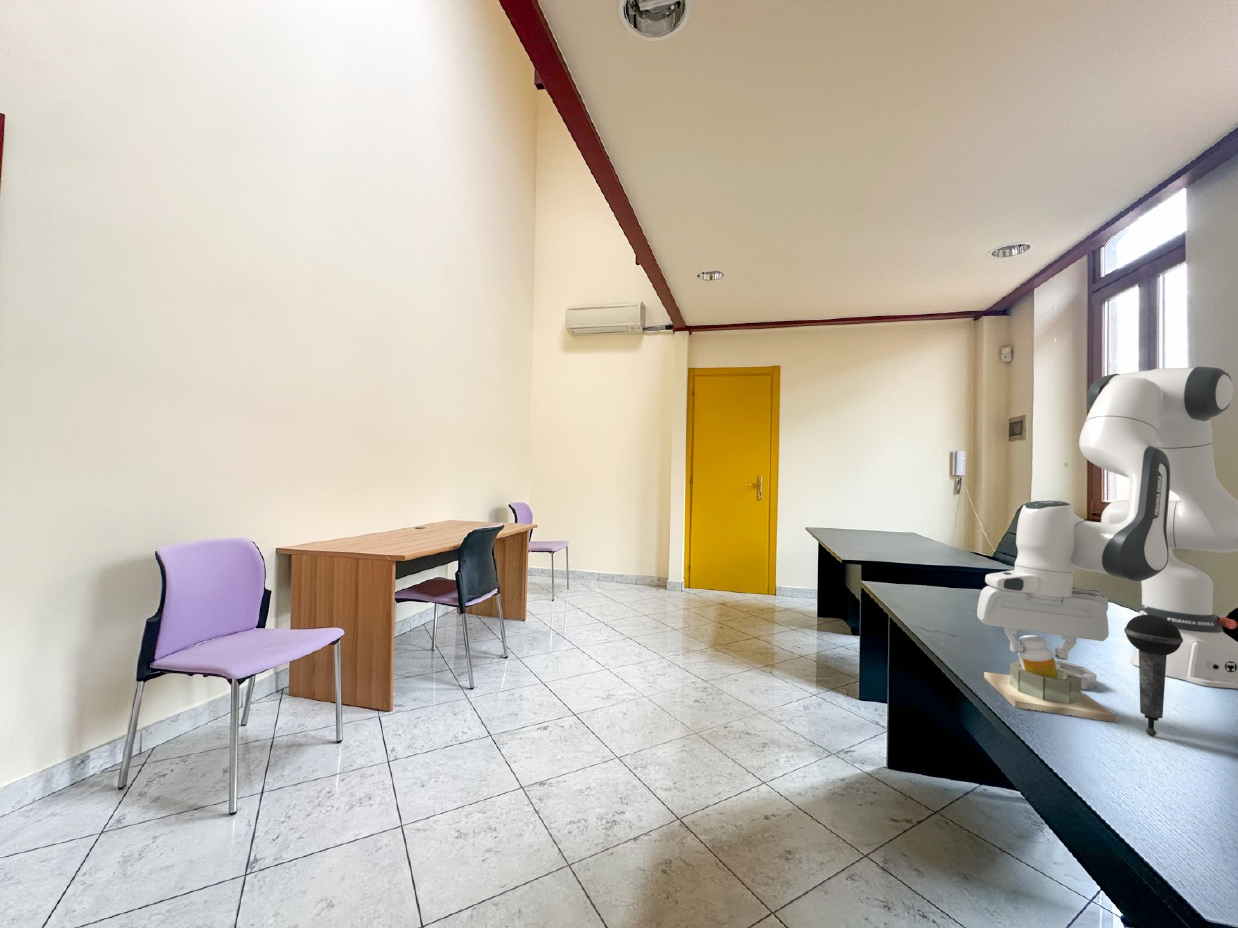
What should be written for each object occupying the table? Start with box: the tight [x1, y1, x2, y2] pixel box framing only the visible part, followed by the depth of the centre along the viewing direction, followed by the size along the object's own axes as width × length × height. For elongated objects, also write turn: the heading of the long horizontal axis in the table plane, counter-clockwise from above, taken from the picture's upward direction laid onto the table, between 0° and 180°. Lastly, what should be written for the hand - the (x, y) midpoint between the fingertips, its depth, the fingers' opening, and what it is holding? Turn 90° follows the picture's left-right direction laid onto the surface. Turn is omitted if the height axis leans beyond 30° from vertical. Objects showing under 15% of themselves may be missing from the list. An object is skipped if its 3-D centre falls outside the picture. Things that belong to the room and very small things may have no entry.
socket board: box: [983, 660, 1117, 723], centre depth 100 cm, size 15×15×5 cm
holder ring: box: [1054, 659, 1097, 691], centre depth 110 cm, size 10×10×2 cm
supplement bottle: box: [1017, 634, 1058, 678], centre depth 100 cm, size 5×5×10 cm
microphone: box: [1123, 615, 1183, 737], centre depth 86 cm, size 7×7×20 cm
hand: (1038, 655), depth 100 cm, fingers open, 6 cm apart
